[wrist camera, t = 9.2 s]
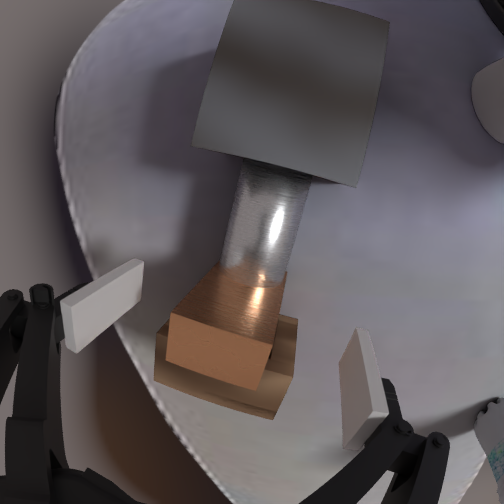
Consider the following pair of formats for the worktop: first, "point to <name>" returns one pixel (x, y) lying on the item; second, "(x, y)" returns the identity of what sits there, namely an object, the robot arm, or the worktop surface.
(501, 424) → the bottle
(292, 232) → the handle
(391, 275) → the worktop surface
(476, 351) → the worktop surface
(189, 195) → the worktop surface
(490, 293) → the worktop surface
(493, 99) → the cup
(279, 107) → the sleeve and socket
